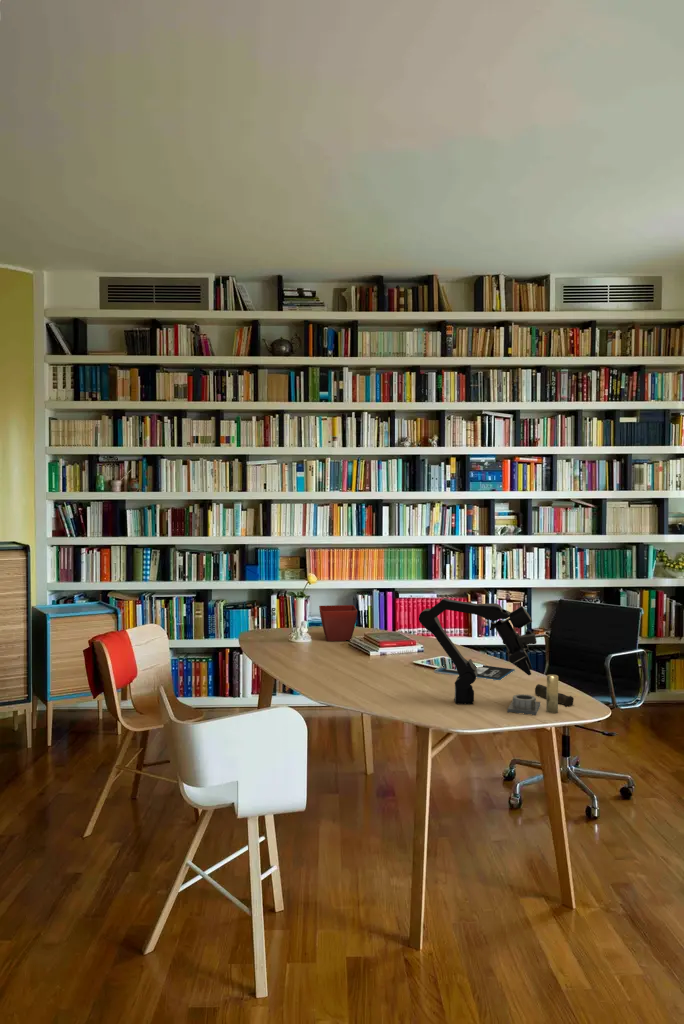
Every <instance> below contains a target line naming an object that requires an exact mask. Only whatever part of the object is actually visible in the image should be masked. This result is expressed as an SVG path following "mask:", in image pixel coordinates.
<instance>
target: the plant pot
mask: <svg viewBox="0 0 684 1024" xmlns="http://www.w3.org/2000/svg"><path fill="white" fill-rule="evenodd" d="M318 610H319V614H320V615H319V616H320V622H321V625H322V629H323V633H324V637H325V639H326V642H347V641H346V640H350V639H351V638H353V636H354V631H355V628H356V627H355V626H356V622H357V615H358V609H357V608H356V607H355V605H354V604H346V605H345V604H343V605H341V604H340V605H339V604H337V605H319V609H318ZM351 640H352V639H351Z"/></svg>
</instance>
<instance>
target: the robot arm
mask: <svg viewBox="0 0 684 1024" xmlns="http://www.w3.org/2000/svg"><path fill="white" fill-rule="evenodd" d="M445 611H452V612H458V613H463V614H464V613H465V614H469V615H470V614H471V615H476V616H479V617H481V618H484V619H486V620H488V621H491V622H490V627H489V630H490V631H494V630H496V632H497V633H498V635H499V637H500V639H501V640H502V644H503V645H505V647H506V649H507V651H508V653H509V656H508V660H509V662H510V664H512V665H513V666H515V667H516V668H517V669H519V670H520V671H522V672H524V673H525V674H526V675H528V676H531V675H532V671H531V670H532V669H533V666H532V664H531V660H530V658H529V655H528V652H529V650H530V649H529V645H536V644H537V637H536V632H535V633H534V632H532V631H531V630H526V631H525V634H522V635H520V633H519V632H516V630H515V629H521V628H524V627H526V626H527V625H529V624H530V623H532V622H533V619H532V618H531V615H530V614H529V613H528V612H527V610H526V609H525V608H524V606H523V605H521V606H519V607H518V608H516V609H513V611H509V610H507V609H504V608H502V606H501V605H500V604H498V603H495V602H494V603H491V602H490V603H487V602H486V603H474V602H469V601H461V600H456V599H450V598H442V599H441V600H440V601H439V602H438V603H436V604H435V605H433V606H432V607H430V608H425V609H423V610H422V611H421V612H420V613H419V615H418V621H419V623H420V625H421V626H423V627H424V628H425V629H426V630H427V631H429V633H431V634H432V635H433V636H434V637H435V639H436V640H437V642H438V643H439V645H440V646H441V648H442V649H443V650H444V652H445V653H446V654H447V655H448V657H449V659H450V661H453V663H454V664H455V666H456V669H457V672H458V674H459V676H457V678H456V680H455V681H454V698H453V701H454V703H455V704H456V705H474V701H475V690H474V689H473V685H472V684H474V682H475V681H476V679H477V678H476V677H477V674H478V672H477V667H476V666H475V665H474V664H475V663H474V662H473V661H472V659H471V658H469V659H468V660H467V659H466V658H465V657H464V656H463V655H462V653H461V652H460V651H459V650H458V648H457V647H456V645H455V644H454V643H453V640H452V639H451V638H450V637H449V635H448V634H447V633H446V631H445V630H444V629H443V627H442V624H441V622H440V619H439V617H438V616H439V615H441V614H442V613H443V612H445Z"/></svg>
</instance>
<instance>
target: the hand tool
mask: <svg viewBox="0 0 684 1024" xmlns="http://www.w3.org/2000/svg"><path fill="white" fill-rule="evenodd" d="M534 694H535V695H536V696H538V697H539V696H540V697H539V698H541V699H547V685H543V684H539V683H538V684H537V685H536V686H535V688H534ZM574 700H575V698H574V697H573V696H572V695H566V694H563V693H560V692H558V704H559V703H560V704H562V705H564V706H565V707H566V708H567V707H572V706H573V704H574Z"/></svg>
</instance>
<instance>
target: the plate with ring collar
mask: <svg viewBox="0 0 684 1024" xmlns="http://www.w3.org/2000/svg"><path fill="white" fill-rule="evenodd" d="M540 707H541V701H537V697H535V695H531V694H524V693H523V694H518V693H517V694H515V695H514V694H513V696H512V701H511V702H510V704H509V706H508V707H507V709H506V712H507V713H509V712H516V713H515V714H519V713H524V714H523V715H528V714H532V715H531V716H537V715H538V712H539V709H540Z"/></svg>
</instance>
